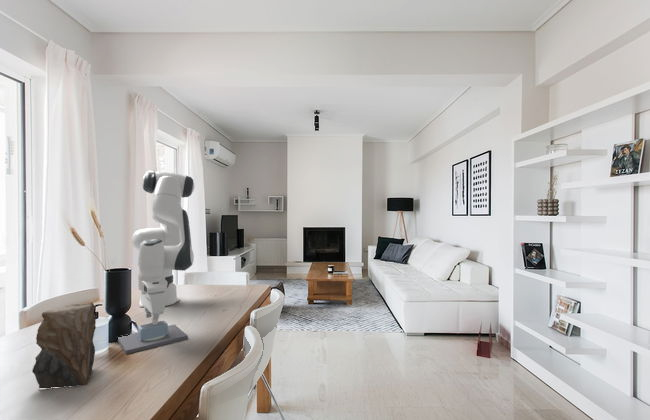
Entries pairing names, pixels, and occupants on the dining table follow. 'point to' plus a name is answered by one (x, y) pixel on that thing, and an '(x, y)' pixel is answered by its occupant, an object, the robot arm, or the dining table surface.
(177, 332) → the charging mat
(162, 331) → the phone
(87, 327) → the brown rock
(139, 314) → the dining table surface
